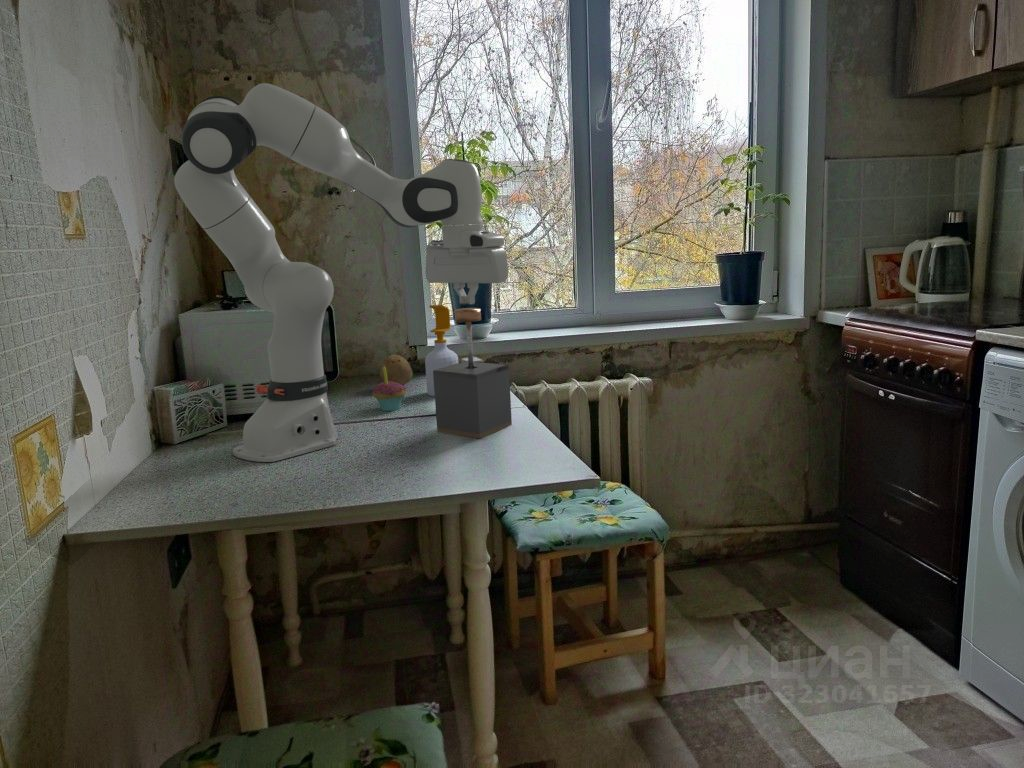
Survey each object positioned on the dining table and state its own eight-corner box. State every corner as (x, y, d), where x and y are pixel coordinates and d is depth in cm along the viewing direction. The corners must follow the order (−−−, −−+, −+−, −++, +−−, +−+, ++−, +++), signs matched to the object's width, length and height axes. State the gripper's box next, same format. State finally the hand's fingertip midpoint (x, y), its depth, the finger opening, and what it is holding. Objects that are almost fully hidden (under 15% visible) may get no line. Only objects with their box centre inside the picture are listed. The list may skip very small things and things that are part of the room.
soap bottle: (422, 396, 192) (415, 306, 187) (435, 389, 200) (429, 302, 195) (453, 397, 189) (447, 306, 184) (465, 390, 198) (459, 302, 192)
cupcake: (401, 413, 176) (397, 365, 173) (368, 413, 177) (364, 366, 175) (411, 404, 184) (407, 359, 182) (380, 404, 186) (376, 359, 183)
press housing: (480, 438, 151) (476, 374, 148) (437, 431, 158) (432, 370, 155) (511, 424, 161) (508, 364, 158) (470, 418, 168) (466, 360, 164)
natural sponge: (374, 390, 203) (370, 356, 201) (396, 384, 210) (393, 351, 207) (396, 393, 197) (393, 358, 195) (418, 387, 204) (415, 353, 202)
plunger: (475, 383, 150) (471, 312, 147) (441, 379, 156) (436, 311, 152) (501, 374, 158) (498, 307, 155) (468, 371, 163) (464, 306, 160)
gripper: (416, 241, 154) (421, 304, 157) (493, 238, 142) (496, 306, 145) (435, 239, 159) (439, 301, 162) (510, 237, 147) (513, 303, 150)
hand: (467, 304), depth 153 cm, fingers closed
